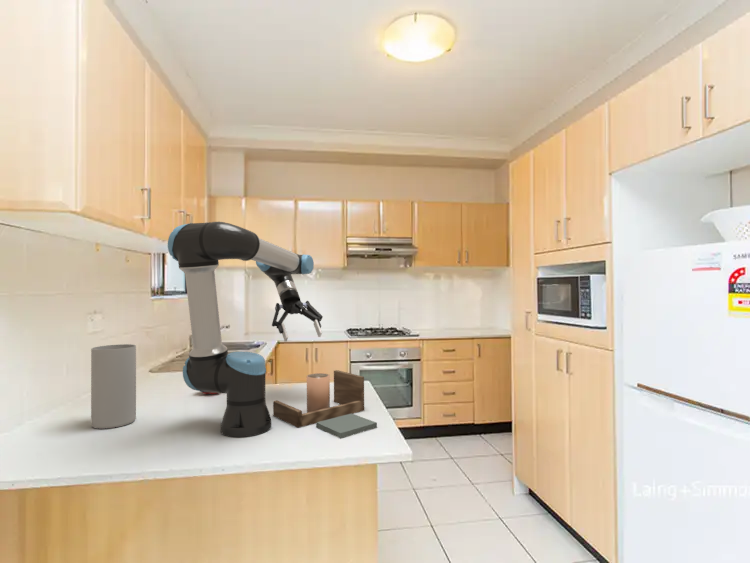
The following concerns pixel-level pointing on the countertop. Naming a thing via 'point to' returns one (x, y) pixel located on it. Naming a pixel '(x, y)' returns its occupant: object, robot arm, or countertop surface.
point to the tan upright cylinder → (318, 391)
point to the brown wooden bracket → (345, 393)
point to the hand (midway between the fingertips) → (303, 337)
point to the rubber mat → (346, 425)
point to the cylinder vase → (113, 385)
